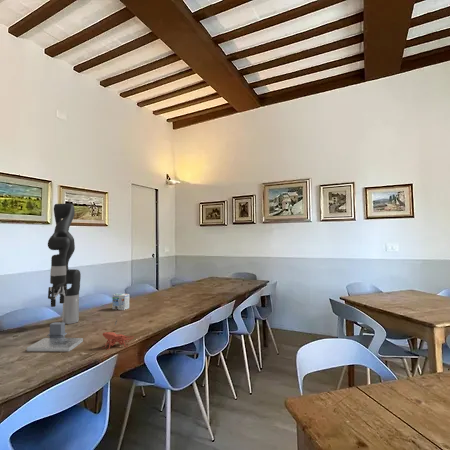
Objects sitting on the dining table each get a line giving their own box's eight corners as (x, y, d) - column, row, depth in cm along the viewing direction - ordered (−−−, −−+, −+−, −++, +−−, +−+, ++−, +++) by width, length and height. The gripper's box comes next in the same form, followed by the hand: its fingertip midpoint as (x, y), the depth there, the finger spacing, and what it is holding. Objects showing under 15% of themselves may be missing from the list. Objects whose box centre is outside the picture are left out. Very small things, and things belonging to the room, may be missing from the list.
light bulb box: (111, 309, 234) (112, 294, 234) (117, 307, 241) (117, 293, 241) (124, 310, 231) (124, 295, 232) (129, 308, 238) (129, 293, 238)
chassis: (44, 341, 161) (44, 337, 161) (82, 341, 161) (82, 338, 161) (26, 351, 147) (26, 347, 147) (69, 351, 147) (69, 347, 147)
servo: (51, 337, 168) (51, 322, 169) (66, 337, 168) (67, 322, 168) (47, 339, 164) (47, 324, 165) (63, 339, 164) (63, 324, 164)
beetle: (100, 351, 148) (100, 324, 149) (104, 342, 160) (104, 317, 161) (133, 348, 152) (133, 322, 152) (134, 340, 164) (134, 316, 164)
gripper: (58, 272, 175) (57, 302, 174) (43, 275, 161) (42, 307, 160) (72, 272, 175) (71, 302, 174) (58, 275, 160) (57, 307, 160)
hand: (57, 304), depth 167 cm, fingers open, 8 cm apart
